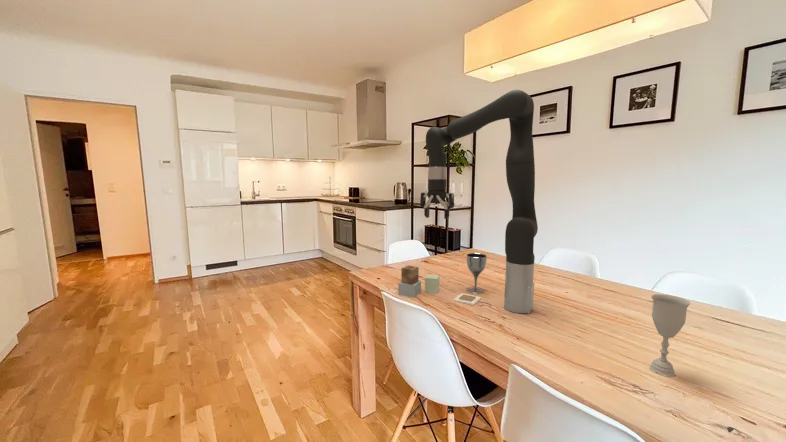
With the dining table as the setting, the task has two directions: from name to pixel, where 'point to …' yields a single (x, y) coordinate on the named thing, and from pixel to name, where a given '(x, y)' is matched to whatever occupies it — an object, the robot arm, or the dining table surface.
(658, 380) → the dining table surface
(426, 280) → the sage block
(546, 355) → the dining table surface
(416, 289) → the grey base block
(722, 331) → the dining table surface
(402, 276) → the walnut block
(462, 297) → the tile
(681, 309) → the chalice
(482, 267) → the wine glass
